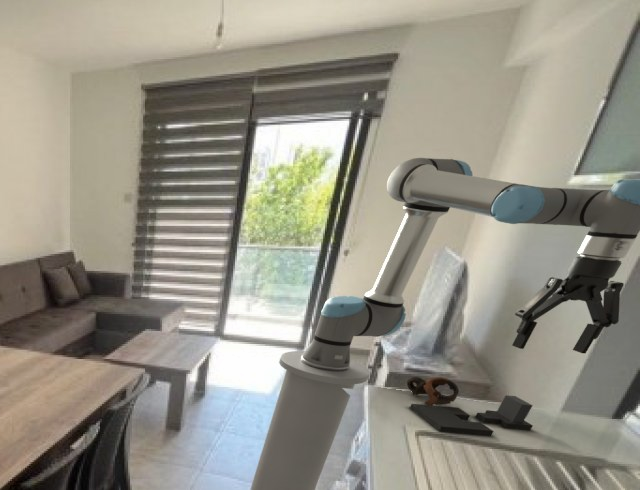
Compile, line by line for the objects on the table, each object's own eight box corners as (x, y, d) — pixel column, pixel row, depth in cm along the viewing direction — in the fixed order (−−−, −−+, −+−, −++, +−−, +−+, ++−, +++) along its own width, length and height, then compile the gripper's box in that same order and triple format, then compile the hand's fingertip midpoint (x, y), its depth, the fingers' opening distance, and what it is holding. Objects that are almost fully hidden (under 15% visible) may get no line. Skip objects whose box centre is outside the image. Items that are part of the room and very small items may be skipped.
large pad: (409, 408, 132) (411, 403, 131) (456, 412, 131) (458, 407, 130) (439, 431, 120) (441, 426, 119) (491, 436, 119) (494, 431, 118)
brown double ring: (447, 401, 139) (467, 383, 132) (436, 422, 136) (455, 406, 129) (404, 381, 144) (421, 363, 136) (392, 401, 140) (408, 384, 133)
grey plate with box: (469, 413, 131) (480, 391, 127) (507, 417, 130) (520, 395, 126) (489, 426, 124) (501, 404, 120) (530, 430, 123) (543, 407, 119)
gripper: (551, 256, 105) (503, 349, 115) (679, 263, 102) (619, 358, 112) (525, 252, 111) (482, 340, 121) (645, 258, 109) (591, 348, 119)
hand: (547, 349), depth 117 cm, fingers open, 13 cm apart
